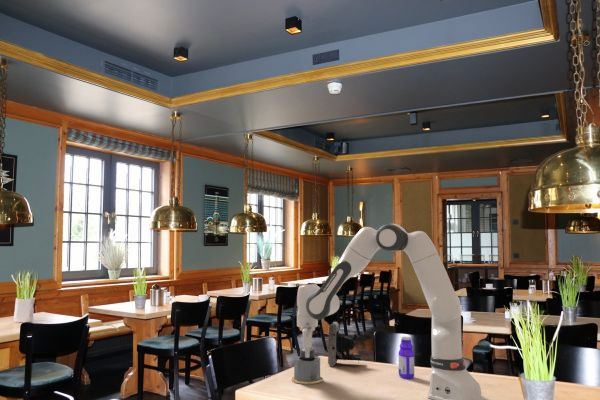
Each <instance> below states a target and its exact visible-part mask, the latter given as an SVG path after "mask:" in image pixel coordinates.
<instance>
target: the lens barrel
mask: <svg viewBox="0 0 600 400" xmlns="http://www.w3.org/2000/svg"><path fill="white" fill-rule="evenodd" d="M293 365H294V366H293V367H294V368H293V374H294V375H293V376H292V377H291V381H292V383H294V384H298V385H318V384H321V383H322V382H323V381H324V380H323V379H324V378H323V377H322V376H321V357H319V356H316V355H314V360H301V359H300V355H299V356H295V357H294V364H293Z"/></svg>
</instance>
